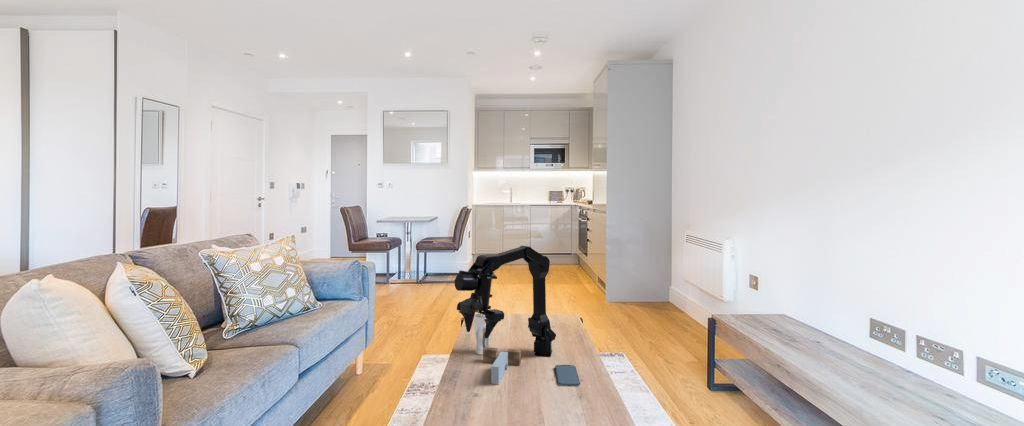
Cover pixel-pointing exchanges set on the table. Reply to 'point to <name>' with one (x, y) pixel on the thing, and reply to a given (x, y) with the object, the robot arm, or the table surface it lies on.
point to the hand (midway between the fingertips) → (477, 334)
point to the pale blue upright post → (499, 368)
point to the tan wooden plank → (492, 355)
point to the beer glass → (480, 334)
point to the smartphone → (567, 375)
